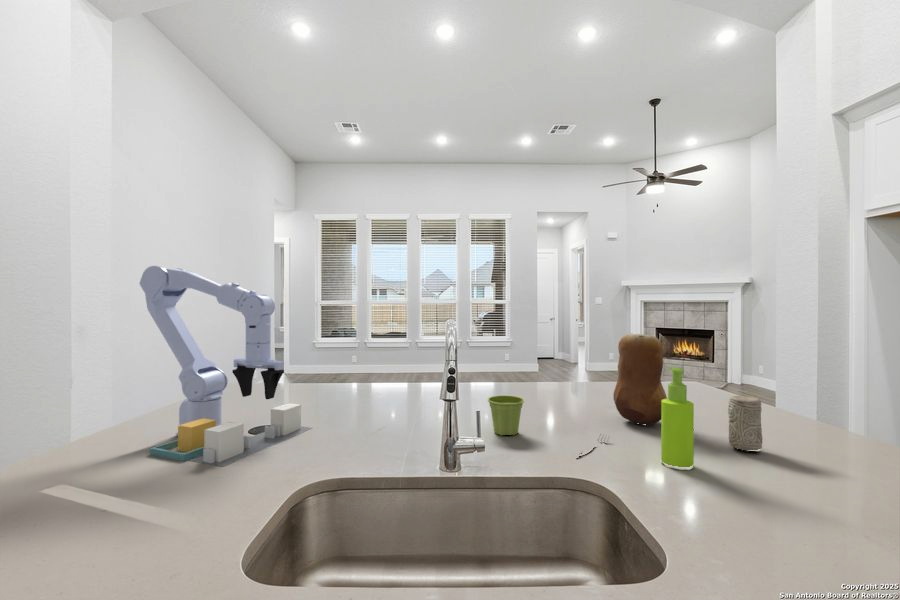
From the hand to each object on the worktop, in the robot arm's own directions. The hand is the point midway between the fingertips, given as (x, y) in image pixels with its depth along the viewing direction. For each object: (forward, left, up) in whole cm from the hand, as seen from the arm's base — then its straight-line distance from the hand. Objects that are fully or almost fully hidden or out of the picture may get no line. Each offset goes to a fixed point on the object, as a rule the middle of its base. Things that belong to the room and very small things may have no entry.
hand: (258, 397), depth 106 cm
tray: (-2, -15, -10) cm, 18 cm away
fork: (+79, +19, -10) cm, 82 cm away
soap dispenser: (+96, +16, -10) cm, 98 cm away
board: (+8, -8, -10) cm, 15 cm away
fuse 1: (+8, -17, -8) cm, 20 cm away
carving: (+112, +31, -10) cm, 116 cm away
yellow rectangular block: (-2, -15, -9) cm, 17 cm away
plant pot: (+58, +24, -10) cm, 63 cm away
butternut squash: (+91, +46, -10) cm, 102 cm away
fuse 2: (+8, +1, -8) cm, 11 cm away
